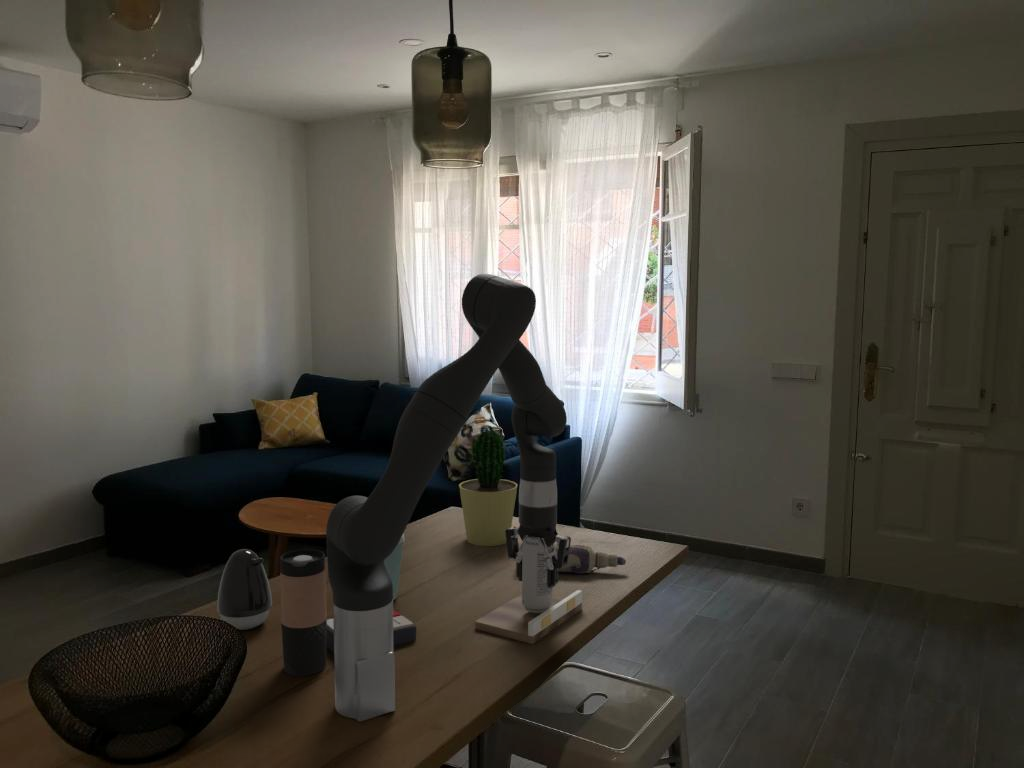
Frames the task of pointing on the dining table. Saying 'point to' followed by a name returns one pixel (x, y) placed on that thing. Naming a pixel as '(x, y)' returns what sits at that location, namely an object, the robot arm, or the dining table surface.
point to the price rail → (554, 613)
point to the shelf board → (518, 620)
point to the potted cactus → (488, 494)
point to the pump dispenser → (244, 591)
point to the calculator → (401, 631)
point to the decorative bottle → (587, 559)
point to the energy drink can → (535, 576)
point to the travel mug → (303, 611)
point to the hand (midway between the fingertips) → (537, 583)
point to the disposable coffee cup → (395, 565)
